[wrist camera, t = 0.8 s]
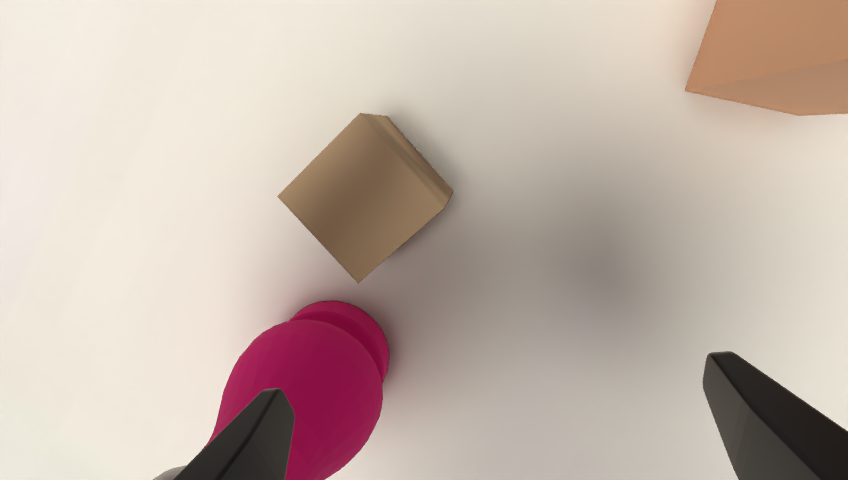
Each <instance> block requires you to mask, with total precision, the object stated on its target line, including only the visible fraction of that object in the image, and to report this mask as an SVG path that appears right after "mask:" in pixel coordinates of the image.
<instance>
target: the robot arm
mask: <svg viewBox="0 0 848 480" xmlns="http://www.w3.org/2000/svg"><path fill="white" fill-rule="evenodd" d="M703 389H704V392H705V395H706V398H707V401H708V403H709V406H710V409H711V411H712V414H713V416H714V419H715V422H716V424H717V427H718V430H719V432H720V435H721V438H722V440H723V443H724V446H725V448H726V451H727V454H728V456H729V459H730V461H731V464H732V466H733V469H734V471H735V473H736V475H737V477H738V479H739V480H848V431H846V430H845V429H844V428H842V427H841V426H839V425H838V424H836V423H835V422H833V421H832V420H831V419H829V418H828V417H826V416H825V415H823V414H822V413H820V412H819V411H818V410H816V409H815V408H813V407H812V406H810V405H809V404H807V403H806V402H805V401H803V400H802V399H800V398H799V397H797V396H796V395H795V394H793V393H792V392H790V391H789V390H787V389H786V388H784V387H783V386H782V385H780V384H779V383H777V382H776V381H774V380H773V379H771V378H770V377H769V376H767V375H766V374H764V373H763V372H761V371H760V370H758V369H757V368H756V367H754V366H753V365H751V364H750V363H748V362H747V361H745V360H744V359H743V358H741V357H740V356H738V355H737V354H735V353H733V352H729V351H726V352H714V353H710V354H708V356H707V358H706V364H705V370H704V376H703ZM294 422H295V414H294V410H293V408H292V406H291V404H290V402H289V401H288V399H287V397H286V395H285V393H284V391H283V390H281V389H280V388H274V389H265V390H263V391H261V392H260V393H259V394H258V395H257V396H256V397H255V398H254V399H253V400H252V401H251V402H250V403H249V404H248V405H247V406H246V407H245V408H244V409H243V410H242V411H241V412H240V413H239V414H238V415H237V416H236V417H235V418H234V419H233V420H232V421H231V422H230V423H229V424H228V425H227V426H226V427H225V428H224V429H223V430H222V431H221V432H220V433H219V434H218V435H217V436H216V437H215V438H214V439H213V440H212V441H211V442H210V443H209V444H208V445H207V446H206V447H205V448H204V449H203V450H202V451H201V452H200V453H199V454H198V455H197V456H196V457H195V458H194V459H193V460H192V461H191V462H190V463H189V464H188V465H187V466H186V467H185V468H184V469H183V470H182V471H181V472H180V473H179V474H178V475H177V476H176V477H175V478H174V479H173V480H285V476H286V470H287V464H288V458H289V452H290V446H291V440H292V434H293V428H294Z"/></svg>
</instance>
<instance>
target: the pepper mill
mask: <svg viewBox="0 0 848 480" xmlns="http://www.w3.org/2000/svg"><path fill="white" fill-rule="evenodd" d="M388 365H389V349H388V345H387V341H386V338H385V336H384V334H383V332H382V330H381V328H380V327H379V326H378V324H377V323H376V322H375V321H374V320H373V319H372V318H371V317H370V316H369V315H368V314H366V313H365V312H364V311H362V310H360V309H359V308H357V307H355V306H353V305H350V304H347V303H343V302H338V301H323V302H317V303H314V304H311V305H309V306H307V307H305V308H303V309H302V310H300V311H299V312H298V313H297V314H296V315H295V316H294V317H293V318H292V319H290V320H289V321H288V322H284V323H281V324H279V325H276V326H274V327H272V328H270V329H269V330H267V331H265V332H263V333H262V334H261V335H260V336H258V337H257V338H256V339H255V340H254V341H253V342H252V343H251V344H250V346H249V347H248V348H247V349H246V350H245V352H244V353H243V354H242V355H241V356H240V357H239V359H238V361H237V363H236V364H235V366H234V368H233V370H232V372H231V374H230V377H229V379H228V382H227V384H226V387H225V389H224V392H223V396H222V401H221V405H220V409H219V413H218V418H217V422H216V425H215V429H214V432H213V434H212V436H211V438H210V440H209V442H208V443H207V445H208V444H209V443H210V442H211V441H212V440H213V439H214V438H215V437H216V436H217V435H218V434H219V433H220V432H221V431H222V430H223V429H224V428H225V427H226V426H227V425H228V424H229V423H230V422H231V421H232V420H233V419H234V418H235V417H236V416H237V415H238V414H239V413H240V412H241V411H242V410H243V409H244V408H245V407H246V406H247V405H248V404H249V403H250V402H251V401H252V400H253V399H254V398H255V397H256V396H257V395H258V394H259V393H260V392H261V391H263V390H265V389H274V388H280V389H281V390H283V391H284V393H285V395H286V397H287V399H288V401H289V402H290V404H291V406H292V408H293V410H294V414H295V422H294V428H293V434H292V440H291V446H290V452H289V458H288V464H287V470H286V476H285V480H325V479H326V478H328V477H329V476H331V475H332V474H334V473H335V472H337V471H339V470H340V469H341V468H342V467H344V466H345V465H346V464H347V463H348V462H349V461H350V460H351V459H352V458H353V457H354V456H355V455H356V454H357V453H358V452H359V451H360V450H361V449H362V447H363V446H364V445H365V443H366V442H367V440H368V439H369V437H370V435H371V433H372V431H373V429H374V427H375V425H376V423H377V421H378V419H379V416H380V412H381V408H382V400H383V393H382V383H383V380H384V378H385V376H386V373H387V370H388ZM207 445H206V446H207ZM206 446H205V447H206ZM205 447H204V448H205ZM204 448H203V449H204ZM203 449H202V450H203ZM185 467H186V466H182V467H177V468H173V469H170V470H168V471H166V472H164V473H162V474H161V475H159V476H158V477H156V478H154V479H153V480H173V479H174V478H175V477H176V476H177V475H178V474H179V473H180V472H181V471H182V470H183V469H184V468H185Z"/></svg>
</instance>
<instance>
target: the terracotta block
mask: <svg viewBox="0 0 848 480" xmlns="http://www.w3.org/2000/svg"><path fill="white" fill-rule="evenodd" d="M685 91H688V92H693V93H698V94H702V95H707V96H711V97H716V98H721V99H725V100H730V101H734V102H739V103H744V104H748V105H753V106H757V107H762V108H767V109H771V110H776V111H780V112H785V113H790V114H794V115H823V114H848V0H717V2H716V5H715V7H714V10H713V13H712V16H711V19H710V21H709V24H708V27H707V30H706V33H705V36H704V38H703V41H702V44H701V47H700V50H699V52H698V55H697V58H696V61H695V64H694V66H693V69H692V72H691V75H690V78H689V81H688V83H687V86H686V89H685Z"/></svg>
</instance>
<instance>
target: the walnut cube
mask: <svg viewBox="0 0 848 480" xmlns="http://www.w3.org/2000/svg"><path fill="white" fill-rule="evenodd" d="M452 193H453V191H452V189H451V188H450V187H449V186H448V185H447V184H446V183H445V182H444V180H443V179H442V178H441V177H440V176H439V175H438V174H437V172H436V171H435V170H434V169H433V168H432V167H431V166H430V165H429V163H428V162H427V161H426V160H425V159H424V158H423V157H422V155H421V154H420V153H419V152H418V151H417V150H416V149H415V148H414V146H413V145H412V144H411V143H410V142H409V141H408V140H407V139H406V137H405V136H404V135H403V134H402V133H401V132H400V131H399V129H398V128H397V127H396V126H395V125H394V124H393V123H392V122H391V120H390V119H389V118H388V117H387V116H381V115H372V114H362V113H360V114H359V115H358V116H357V117H356V118H355V119H354V120H353V121H352V122H351V123H350V124H349V125H348V126H347V127H346V128H345V129H344V130H343V131H342V132H341V133H340V134H339V135H338V136H337V137H336V138H335V139H334V140H333V141H332V142H331V143H330V144H329V145H328V146H327V147H326V148H325V149H324V150H323V151H322V152H321V153H320V154H319V155H318V156H317V157H316V158H315V159H314V160H313V161H312V162H311V163H310V164H309V165H308V166H307V167H306V168H305V169H304V170H303V171H302V172H301V173H300V174H299V175H298V176H297V177H296V178H295V179H294V180H293V181H292V182H291V183H290V184H289V185H288V186H287V187H286V188H285V189H284V190H283V191H282V192H281V193H280V194H279V195H278V196H277V197H278V198H279V199H280V200H281V201H282V202H283V203H284V204H285V205H286V206H287V207H288V208H289V209H290V211H291V212H292V213H293V214H294V215H295V216H296V217H297V218H298V219H299V220H300V221H301V222H302V223H303V225H304V226H305V227H306V228H307V229H308V230H309V231H310V232H311V233H312V234H313V235H314V236H315V237H316V239H317V240H318V241H319V242H320V243H321V244H322V245H323V246H324V247H325V248H326V249H327V250H328V251H329V253H330V254H331V255H332V256H333V257H334V258H335V259H336V260H337V261H338V262H339V263H340V264H341V265H342V266H343V268H344V269H345V270H346V271H347V272H348V273H349V274H350V275H351V276H352V277H353V278H354V279H355V280H356V282H357V283H359V282H360V281H361V280H362V279H363V278H364V277H366V276H367V275H368V274H369V273H370V272H371V271H373V270H374V269H375V268H376V267H377V266H378V265H379V264H381V263H382V262H383V261H384V260H385V259H386V258H387V257H389V256H390V255H391V254H392V253H393V252H394V251H395V250H397V249H398V248H399V247H400V246H401V245H402V244H403V243H405V242H406V241H407V240H408V239H409V238H410V237H412V236H413V235H414V234H415V233H416V232H417V231H418V230H420V229H421V228H422V227H423V226H424V225H425V224H426V223H428V222H429V221H430V220H431V219H432V218H433V217H434V216H436V215H437V214H438V213H439V212H440V211H441V210H443V209H444V208H445V206H446V204H447V202H448V200H449V199H450V197H451V195H452Z"/></svg>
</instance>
